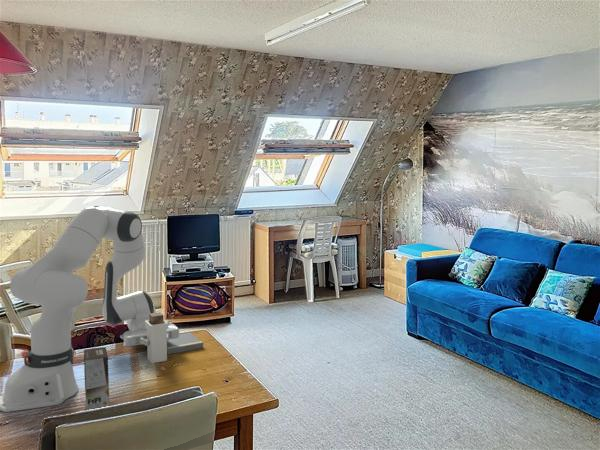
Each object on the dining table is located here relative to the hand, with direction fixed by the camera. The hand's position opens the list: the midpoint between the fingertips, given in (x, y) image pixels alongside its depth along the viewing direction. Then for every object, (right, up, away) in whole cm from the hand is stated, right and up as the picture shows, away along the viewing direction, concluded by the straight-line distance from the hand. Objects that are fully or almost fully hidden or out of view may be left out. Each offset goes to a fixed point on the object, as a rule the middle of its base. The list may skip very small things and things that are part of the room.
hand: (157, 341), depth 189 cm
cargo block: (0, +6, 0) cm, 6 cm away
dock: (+4, -5, +16) cm, 18 cm away
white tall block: (-1, -7, +2) cm, 7 cm away
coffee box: (-9, -11, -34) cm, 37 cm away
